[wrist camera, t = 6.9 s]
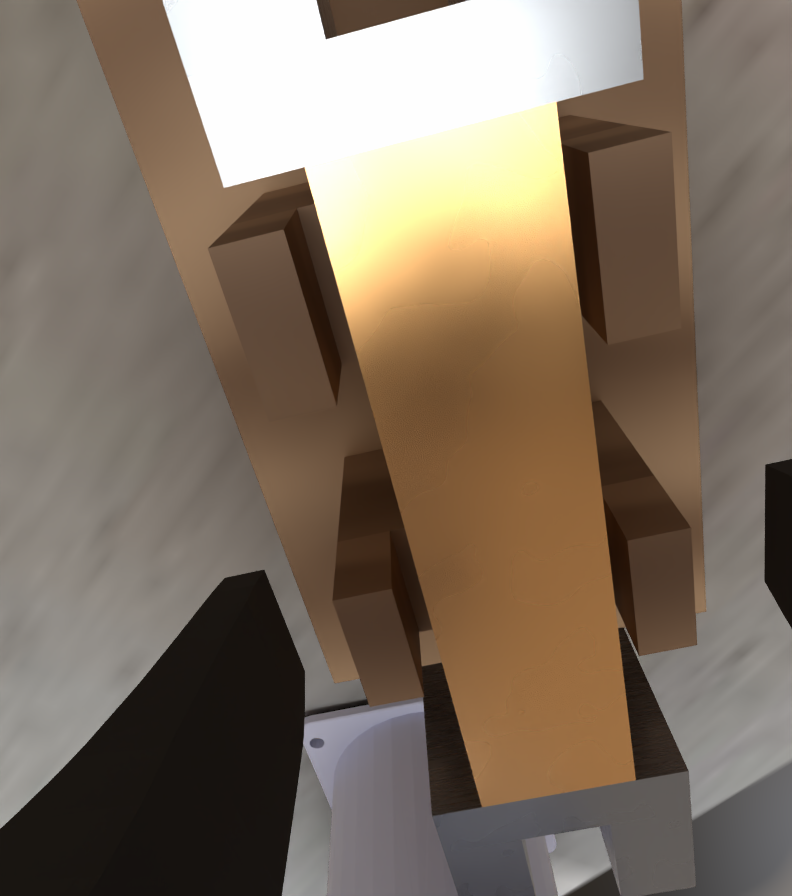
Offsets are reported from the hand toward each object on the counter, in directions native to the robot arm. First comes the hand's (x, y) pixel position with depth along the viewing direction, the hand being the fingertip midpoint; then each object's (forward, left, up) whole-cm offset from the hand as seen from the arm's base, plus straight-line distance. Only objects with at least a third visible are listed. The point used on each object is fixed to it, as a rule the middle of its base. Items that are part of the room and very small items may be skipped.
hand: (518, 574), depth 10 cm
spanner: (0, 0, -5) cm, 5 cm away
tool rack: (0, 0, -10) cm, 10 cm away
